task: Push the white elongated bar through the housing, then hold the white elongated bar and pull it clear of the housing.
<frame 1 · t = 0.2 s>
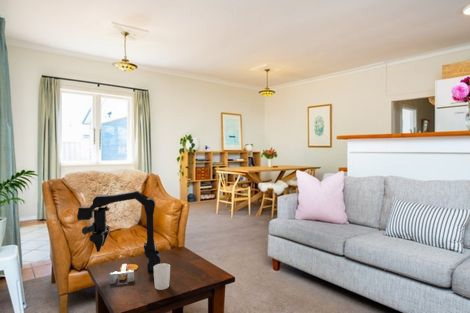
hand: (100, 248, 158), 14 cm above the table, fingers open, 9 cm apart
white elongated bar: (123, 273, 161), on the table
white cup: (161, 287, 146), on the table
housing: (122, 279, 154), on the table
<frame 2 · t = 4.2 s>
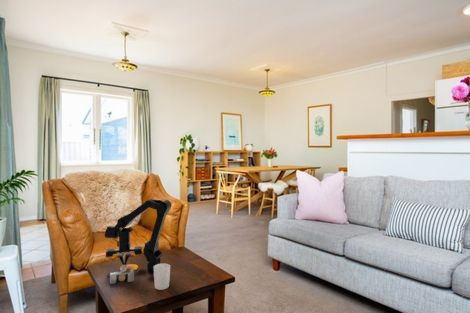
hand: (124, 266, 168), 1 cm above the table, fingers closed, pressing on white elongated bar
white elongated bar: (123, 274, 159), on the table, touching gripper
everything else where it was.
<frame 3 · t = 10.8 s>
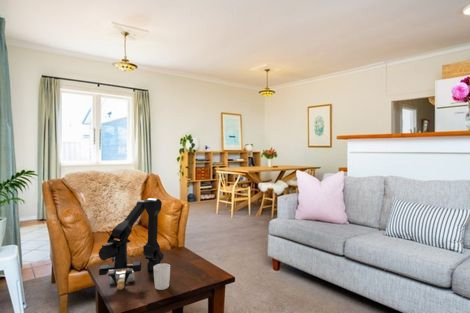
hand: (120, 285, 144), 1 cm above the table, fingers closed on white elongated bar, 3 cm apart
white elongated bar: (121, 282, 151), on the table, touching gripper
everything else where it was.
when the fingers open (2 cm above the table, at t = 14.5 s): white elongated bar stays where it is, on the table.
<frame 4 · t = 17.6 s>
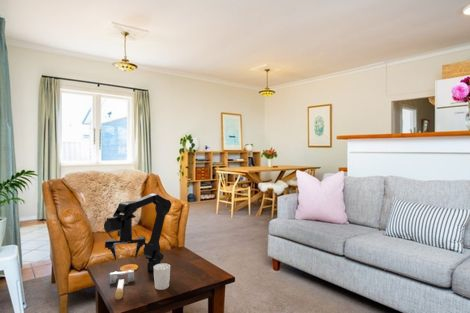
hand: (125, 259, 150), 12 cm above the table, fingers open, 9 cm apart
white elongated bar: (120, 291, 141), on the table
everything else where it was.
at the end: white elongated bar inside the target area (4.6 cm from its centre), on the table; white elongated bar touching table; the gripper is holding nothing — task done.
